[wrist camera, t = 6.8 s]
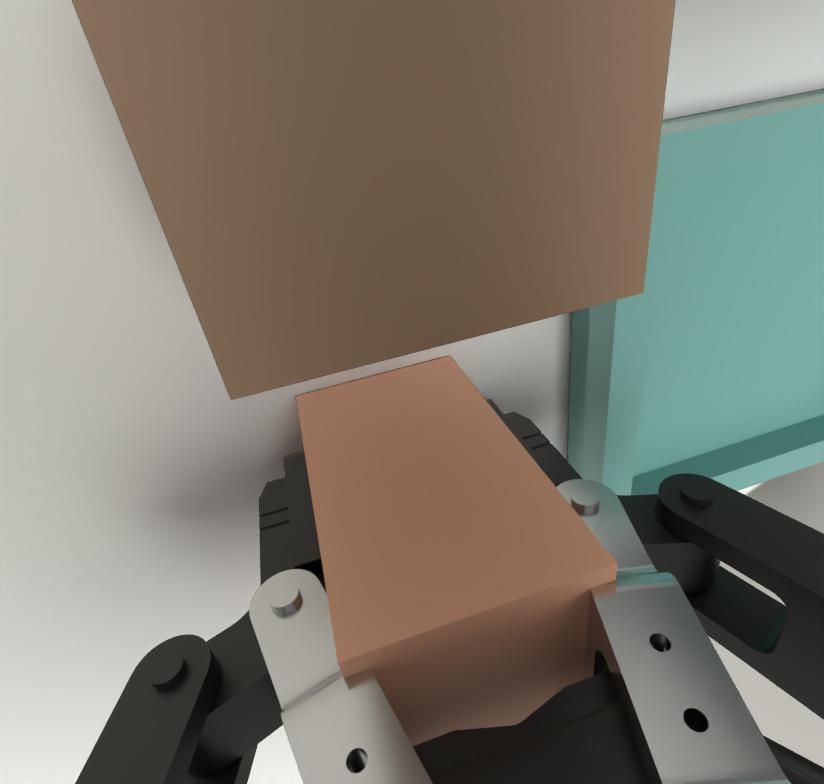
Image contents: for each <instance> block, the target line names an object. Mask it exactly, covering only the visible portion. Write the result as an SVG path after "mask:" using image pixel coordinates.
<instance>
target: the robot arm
mask: <svg viewBox="0 0 824 784" xmlns="http://www.w3.org/2000/svg"><path fill="white" fill-rule="evenodd" d="M486 401H487V402H488V403H489V405H490V406H491V407H492V408H493V410H494V411H495V412H496V413H497V415H498V416H499V417H500V418H501V420H502V421H503V422H504V423H505V425H506V426H507V427H508V428H509V430H510V431H511V432H512V433H513V434H514V436H515V437H516V438H517V439H518V441H519V442H520V443H521V444H522V446H523V447H524V448H525V449H526V451H527V452H528V453H529V454H530V456H531V457H532V458H533V459H534V461H535V462H536V463H537V464H538V466H539V467H540V468H541V469H542V470H543V472H544V473H545V474H546V475H547V477H548V478H549V479H550V480H551V482H552V483H553V484H554V485H555V487H556V488H557V489H558V490H559V492H560V493H561V494H562V495H563V497H564V498H565V499H566V500H567V501H568V503H569V504H570V505H571V506H572V508H573V509H574V510H575V511H576V513H577V514H578V515H579V516H580V518H581V519H582V520H583V521H584V523H585V524H586V525H587V526H588V528H589V529H590V530H591V531H592V532H593V534H594V535H595V536H596V537H597V539H598V540H599V541H600V542H601V544H602V545H603V546H604V547H605V549H606V550H607V551H608V552H609V554H610V555H611V556H612V557H613V559H614V560H615V561H616V562H617V563H618V565H617V574H616V581H614V582H610V583H606V584H603V585H600V586H597V587H593V588H590V595H589V608H588V622H587V635H586V648H585V662H584V675H583V680H581V681H579V682H576V683H574V684H571V685H569V686H566V687H564V688H563V689H562V690H560V691H559V692H558V693H557V694H555V695H554V696H553V697H552V698H550V699H549V700H548V701H547V702H545V703H544V704H543V705H542V706H540V707H539V708H538V709H537V710H535V711H534V712H533V713H532V714H530V715H529V716H528V717H527V718H526V719H524V720H523V721H522V722H520V723H518V724H516V725H511V726H500V727H489V728H477V729H465V730H454V731H451V732H449V733H446V734H443V735H441V736H438V737H436V738H433V739H431V740H428V741H426V742H423V743H420V744H418V745H415V746H412V744H411V743H410V741H409V739H408V737H407V735H406V733H405V732H404V730H403V728H402V726H401V724H400V722H399V720H398V719H397V717H396V715H395V713H394V711H393V709H392V708H391V706H390V704H389V702H388V700H387V698H386V697H385V695H384V693H383V691H382V689H381V687H380V685H379V684H378V682H377V680H376V678H375V676H374V674H373V673H372V671H371V669H370V668H368V669H366V670H363V671H361V672H358V673H356V674H353V675H351V676H349V677H346V678H343V675H342V672H341V670H340V667H339V665H338V661H337V655H336V649H335V642H334V636H333V630H332V623H331V617H330V611H329V604H328V598H327V592H326V585H325V579H324V573H323V566H322V560H321V554H320V547H319V541H318V535H317V528H316V522H315V516H314V509H313V503H312V497H311V490H310V484H309V478H308V471H307V465H306V459H305V452H304V451H302V452H298V453H295V454H291V455H288V456H284V470H285V478H281V479H278V480H274V481H271V482H267V484H266V486H265V488H264V490H263V492H262V494H261V496H260V498H259V516H260V519H259V525H260V568H261V586H260V587H259V588H258V590H257V591H256V592H255V594H254V596H253V598H252V600H251V603H250V608H249V611H248V612H247V613H246V614H245V615H244V616H243V617H242V618H241V619H240V620H239V621H237V622H236V623H235V624H233V625H232V626H230V627H229V628H227V629H226V630H224V631H223V632H221V633H219V634H218V635H216V636H215V637H213V638H212V639H210V640H208V641H207V642H205V641H204V640H203V639H202V638H200V637H199V636H195V635H180V636H176V637H173V638H171V639H168V640H166V641H164V642H162V643H161V644H159V645H158V646H156V647H155V648H153V649H152V650H151V651H150V652H149V653H148V654H147V655H146V656H145V657H144V658H143V659H142V660H141V661H140V663H139V664H138V665H137V667H136V668H135V670H134V672H133V673H132V675H131V677H130V679H129V681H128V683H127V685H126V687H125V689H124V690H123V692H122V694H121V696H120V698H119V700H118V702H117V704H116V706H115V708H114V710H113V712H112V714H111V716H110V717H109V719H108V721H107V723H106V725H105V727H104V729H103V731H102V733H101V735H100V737H99V739H98V741H97V743H96V744H95V746H94V748H93V750H92V752H91V754H90V756H89V758H88V760H87V762H86V764H85V766H84V768H83V770H82V772H81V773H80V775H79V777H78V779H77V781H76V783H75V784H247V782H248V778H249V774H250V771H251V767H252V763H253V760H254V756H255V753H256V749H257V744H258V743H259V742H261V741H262V740H263V739H265V738H266V737H267V736H269V735H270V734H271V733H273V732H274V731H275V730H277V729H278V728H279V727H280V726H282V725H284V728H285V731H286V734H287V737H288V740H289V743H290V746H291V749H292V751H293V754H294V757H295V760H296V763H297V766H298V769H299V772H300V775H301V778H302V781H303V784H824V768H823V767H821V766H819V765H817V764H815V763H813V762H812V761H810V760H808V759H806V758H804V757H802V756H801V755H799V754H796V753H795V752H793V751H791V750H789V749H787V748H786V747H784V746H782V745H780V744H778V743H776V742H774V741H772V740H771V739H769V738H767V737H765V736H763V735H762V733H761V732H760V730H759V728H758V726H757V724H756V723H755V721H754V719H753V717H752V715H751V713H750V711H749V710H748V708H747V706H746V704H745V703H744V701H743V699H742V697H741V695H740V693H739V691H738V690H737V688H736V686H735V684H734V683H733V681H732V679H731V677H730V675H729V673H728V672H727V670H726V668H725V666H724V665H723V663H722V661H721V659H720V657H719V655H718V654H717V652H716V650H715V648H714V646H713V644H712V643H711V641H710V639H709V637H711V638H712V639H714V640H715V641H716V642H718V643H719V644H721V645H722V646H723V647H725V648H726V649H727V650H729V651H730V652H731V653H733V654H734V655H736V656H737V657H738V658H740V659H741V660H742V661H744V662H745V663H747V664H748V665H749V666H751V667H752V668H754V669H755V670H756V671H758V672H759V673H761V674H762V675H763V676H765V677H766V678H767V679H769V680H770V681H771V682H773V683H774V684H775V685H777V686H778V687H780V688H781V689H782V690H784V691H785V692H786V693H788V694H789V695H791V696H792V697H793V698H795V699H796V700H797V701H799V702H800V703H802V704H803V705H804V706H806V707H807V708H809V709H810V710H811V711H813V712H814V713H816V714H817V715H818V716H820V717H821V718H822V719H824V534H823V533H821V532H819V531H817V530H815V529H813V528H811V527H808V526H807V525H805V524H803V523H801V522H798V521H797V520H795V519H793V518H791V517H788V516H786V515H784V514H782V513H780V512H778V511H776V510H774V509H772V508H770V507H768V506H766V505H764V504H762V503H760V502H758V501H756V500H754V499H752V498H750V497H748V496H746V495H744V494H742V493H740V492H738V491H736V490H734V489H732V488H730V487H728V486H726V485H724V484H721V483H719V482H717V481H715V480H713V479H711V478H708V477H705V476H702V475H698V474H690V473H682V474H675V475H671V476H669V477H667V478H665V479H664V480H663V481H662V482H661V483H660V485H659V488H658V494H648V495H616V494H615V493H614V492H613V491H612V490H611V489H610V488H609V487H607V486H605V485H604V484H601V483H599V482H596V481H593V480H587V479H583V478H582V477H581V476H580V475H579V474H578V473H577V472H576V471H575V469H574V468H573V467H572V466H571V465H570V464H569V463H568V462H567V460H566V459H565V458H564V457H563V456H562V455H561V454H560V453H559V452H558V450H557V449H556V448H555V447H554V446H553V445H552V444H550V441H549V440H548V439H547V438H546V437H545V436H544V435H543V434H541V431H540V430H539V429H538V428H537V427H536V426H535V425H534V424H533V422H532V421H531V420H529V419H527V418H525V417H523V416H521V415H519V414H517V413H515V412H512V413H508V414H505V415H503V413H502V412H501V411H500V410H499V409H498V407H497V406H496V405H495V404H494V402H493V401H492V400H490V399H488V400H486ZM720 561H722V562H724V563H726V564H727V565H729V566H731V567H733V568H734V569H736V570H737V571H739V572H740V573H742V574H744V575H746V576H747V577H749V578H751V579H752V580H754V581H755V582H757V583H759V584H760V585H762V586H764V587H765V588H767V589H769V590H770V591H772V592H773V593H775V594H776V595H777V596H778V597H779V598H780V599H781V600H782V601H783V602H784V603H785V605H786V606H785V605H783V604H781V603H780V602H778V601H776V600H775V599H773V598H771V597H770V596H768V595H767V594H765V593H763V592H762V591H760V590H758V589H757V588H755V587H754V586H752V585H750V584H749V583H747V582H746V581H744V580H742V579H741V578H739V577H737V576H736V575H734V574H732V573H731V572H729V571H728V570H726V569H724V568H723V567H721V566H719V564H720ZM708 636H709V637H708Z"/></svg>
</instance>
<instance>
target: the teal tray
mask: <svg viewBox="0 0 824 784" xmlns="http://www.w3.org/2000/svg"><path fill="white" fill-rule="evenodd" d="M823 461H824V89H820V90H815V91H810V92H805V93H800V94H795V95H790V96H785V97H780V98H775V99H770V100H764V101H759V102H754V103H749V104H744V105H739V106H734V107H729V108H724V109H719V110H714V111H709V112H703V113H698V114H693V115H688V116H683V117H678V118H673V119H668V120H663V121H662V128H661V137H660V146H659V156H658V165H657V174H656V183H655V192H654V201H653V211H652V220H651V229H650V238H649V247H648V257H647V266H646V275H645V284H644V293H642V294H638V295H634V296H630V297H627V298H623V299H619V300H615V301H611V302H607V303H603V304H600V305H596V306H592V307H588V308H584V309H580V310H576V311H573V312H572V336H571V368H570V401H569V433H568V463H569V464H570V465H571V466H572V467H573V468H574V469H575V471H576V472H577V473H578V474H579V475H580V476H581V477H582V478H583V479H587V480H593V481H596V482H599V483H601V484H604V485H605V486H607V487H609V488H610V489H611V490H612V491H613V492H614V493H615V494H616V495H648V494H658V488H659V485H660V483H661V482H662V481H663V480H664V479H665V478H667V477H669V476H671V475H675V474H682V473H690V474H698V475H702V476H705V477H708V478H711V479H713V480H715V481H717V482H719V483H721V484H724V485H726V486H728V487H730V488H732V489H734V490H736V491H738V490H741V489H744V488H747V487H750V486H753V485H756V484H759V483H761V482H764V481H767V480H770V479H773V478H776V477H779V476H782V475H785V474H788V473H790V472H793V471H796V470H799V469H802V468H805V467H808V466H811V465H813V464H817V463H820V462H823Z"/></svg>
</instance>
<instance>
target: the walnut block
mask: <svg viewBox="0 0 824 784" xmlns="http://www.w3.org/2000/svg"><path fill="white" fill-rule="evenodd" d="M72 2H73V5H74V7H75V10H76V13H77V15H78V18H79V20H80V23H81V25H82V28H83V30H84V33H85V35H86V38H87V40H88V43H89V45H90V48H91V50H92V53H93V55H94V58H95V60H96V63H97V65H98V68H99V70H100V73H101V75H102V78H103V80H104V83H105V85H106V88H107V90H108V93H109V95H110V98H111V100H112V103H113V105H114V108H115V110H116V113H117V115H118V118H119V120H120V123H121V125H122V128H123V130H124V133H125V136H126V138H127V141H128V143H129V146H130V148H131V151H132V153H133V156H134V158H135V161H136V163H137V166H138V168H139V171H140V173H141V176H142V178H143V181H144V183H145V186H146V188H147V191H148V193H149V196H150V198H151V201H152V203H153V206H154V208H155V211H156V213H157V216H158V218H159V221H160V223H161V226H162V228H163V231H164V233H165V236H166V238H167V241H168V243H169V246H170V248H171V251H172V253H173V256H174V259H175V261H176V264H177V266H178V269H179V271H180V274H181V276H182V279H183V281H184V284H185V286H186V289H187V291H188V294H189V296H190V299H191V301H192V304H193V306H194V309H195V311H196V314H197V316H198V319H199V321H200V324H201V326H202V329H203V331H204V334H205V336H206V339H207V341H208V344H209V346H210V349H211V351H212V354H213V356H214V359H215V361H216V364H217V366H218V369H219V371H220V374H221V376H222V379H223V381H224V384H225V387H226V389H227V392H228V394H229V397H230V399H231V400H234V399H237V398H241V397H245V396H249V395H253V394H257V393H261V392H264V391H268V390H272V389H276V388H280V387H284V386H287V385H291V384H295V383H299V382H303V381H307V380H311V379H314V378H318V377H322V376H326V375H330V374H334V373H338V372H341V371H345V370H349V369H353V368H357V367H361V366H365V365H368V364H372V363H376V362H380V361H384V360H388V359H392V358H395V357H399V356H403V355H407V354H411V353H415V352H418V351H422V350H426V349H430V348H434V347H438V346H442V345H445V344H449V343H453V342H457V341H461V340H465V339H469V338H472V337H476V336H480V335H484V334H488V333H492V332H496V331H499V330H503V329H507V328H511V327H515V326H519V325H523V324H526V323H530V322H534V321H538V320H542V319H546V318H550V317H553V316H557V315H561V314H565V313H569V312H573V311H576V310H580V309H584V308H588V307H592V306H596V305H600V304H603V303H607V302H611V301H615V300H619V299H623V298H627V297H630V296H634V295H638V294H642V293H644V284H645V275H646V266H647V257H648V247H649V238H650V229H651V220H652V211H653V201H654V192H655V183H656V174H657V165H658V156H659V146H660V137H661V128H662V119H663V110H664V100H665V91H666V82H667V73H668V64H669V55H670V45H671V36H672V27H673V18H674V9H675V0H72Z"/></svg>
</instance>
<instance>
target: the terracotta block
mask: <svg viewBox="0 0 824 784" xmlns="http://www.w3.org/2000/svg"><path fill="white" fill-rule="evenodd" d="M296 401H297V408H298V414H299V420H300V427H301V433H302V440H303V446H304V452H305V459H306V465H307V471H308V478H309V484H310V490H311V497H312V503H313V509H314V516H315V522H316V528H317V535H318V541H319V547H320V554H321V560H322V566H323V573H324V579H325V585H326V592H327V598H328V604H329V611H330V617H331V623H332V630H333V636H334V642H335V649H336V655H337V661H338V665H339V667H340V670H341V672H342V675H343V678H346V677H349V676H351V675H353V674H356V673H358V672H361V671H363V670H366V669H368V668H370V669H371V671H372V673H373V674H374V676H375V678H376V680H377V682H378V684H379V685H380V687H381V689H382V691H383V693H384V695H385V697H386V698H387V700H388V702H389V704H390V706H391V708H392V709H393V711H394V713H395V715H396V717H397V719H398V720H399V722H400V724H401V726H402V728H403V730H404V732H405V733H406V735H407V737H408V739H409V741H410V743H411V744H412V746H415V745H418V744H420V743H423V742H426V741H428V740H431V739H433V738H436V737H438V736H441V735H443V734H446V733H449V732H451V731H454V730H465V729H477V728H489V727H500V726H511V725H516V724H518V723H520V722H522V721H523V720H524V719H526V718H527V717H528V716H529V715H530V714H532V713H533V712H534V711H535V710H537V709H538V708H539V707H540V706H542V705H543V704H544V703H545V702H547V701H548V700H549V699H550V698H552V697H553V696H554V695H555V694H557V693H558V692H559V691H560V690H562V689H563V688H564V687H566V686H569V685H571V684H574V683H576V682H579V681H581V680H583V675H584V662H585V648H586V635H587V622H588V608H589V595H590V588H593V587H597V586H600V585H603V584H606V583H610V582H614V581H616V574H617V565H618V563H617V562H616V561H615V560H614V559H613V557H612V556H611V555H610V554H609V552H608V551H607V550H606V549H605V547H604V546H603V545H602V544H601V542H600V541H599V540H598V539H597V537H596V536H595V535H594V534H593V532H592V531H591V530H590V529H589V528H588V526H587V525H586V524H585V523H584V521H583V520H582V519H581V518H580V516H579V515H578V514H577V513H576V511H575V510H574V509H573V508H572V506H571V505H570V504H569V503H568V501H567V500H566V499H565V498H564V497H563V495H562V494H561V493H560V492H559V490H558V489H557V488H556V487H555V485H554V484H553V483H552V482H551V480H550V479H549V478H548V477H547V475H546V474H545V473H544V472H543V470H542V469H541V468H540V467H539V466H538V464H537V463H536V462H535V461H534V459H533V458H532V457H531V456H530V454H529V453H528V452H527V451H526V449H525V448H524V447H523V446H522V444H521V443H520V442H519V441H518V439H517V438H516V437H515V436H514V434H513V433H512V432H511V431H510V430H509V428H508V427H507V426H506V425H505V423H504V422H503V421H502V420H501V418H500V417H499V416H498V415H497V413H496V412H495V411H494V410H493V408H492V407H491V406H490V405H489V403H488V402H487V401H486V400H485V399H484V397H483V396H482V395H481V394H480V392H479V391H478V390H477V389H476V387H475V386H474V385H473V384H472V382H471V381H470V380H469V379H468V377H467V376H466V375H465V374H464V372H463V371H462V370H461V369H460V368H459V366H458V365H457V364H456V363H455V361H454V360H453V359H452V358H451V356H446V357H443V358H439V359H435V360H431V361H427V362H424V363H420V364H416V365H412V366H408V367H404V368H401V369H397V370H393V371H389V372H385V373H382V374H378V375H374V376H370V377H366V378H362V379H359V380H355V381H351V382H347V383H343V384H339V385H336V386H332V387H328V388H324V389H320V390H317V391H313V392H309V393H305V394H301V395H297V396H296Z"/></svg>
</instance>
